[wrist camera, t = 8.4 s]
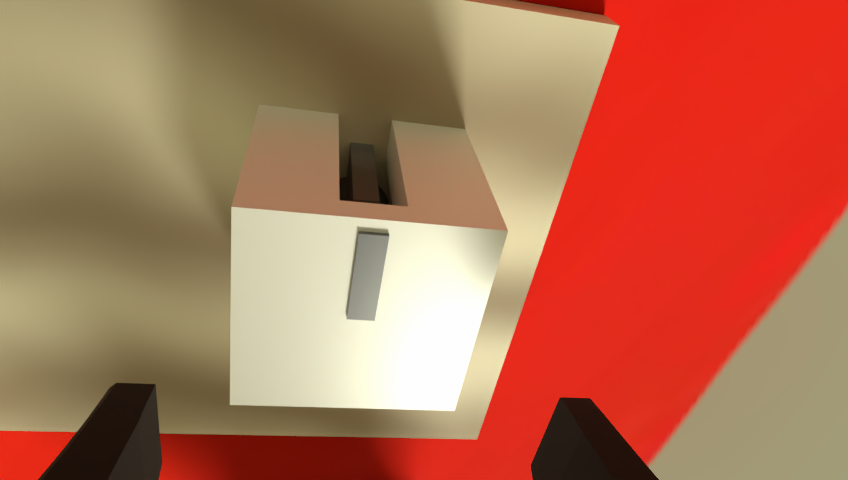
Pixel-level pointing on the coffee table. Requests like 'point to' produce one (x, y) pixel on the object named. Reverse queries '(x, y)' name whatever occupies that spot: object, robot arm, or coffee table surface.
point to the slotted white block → (357, 268)
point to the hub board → (219, 173)
